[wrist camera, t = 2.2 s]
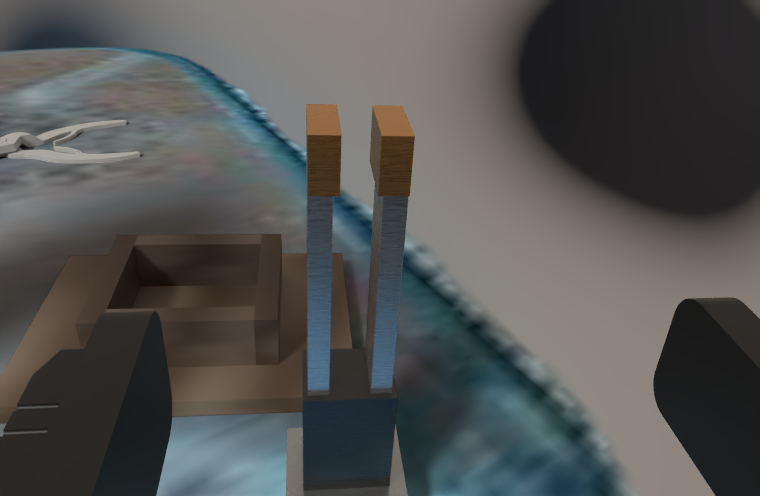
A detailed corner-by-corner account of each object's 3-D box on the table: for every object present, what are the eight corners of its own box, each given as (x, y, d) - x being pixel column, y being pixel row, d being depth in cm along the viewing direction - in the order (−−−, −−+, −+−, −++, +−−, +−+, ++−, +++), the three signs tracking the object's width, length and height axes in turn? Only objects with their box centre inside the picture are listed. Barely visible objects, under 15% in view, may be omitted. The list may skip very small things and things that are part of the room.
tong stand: (-13, 423, 32) (-35, 360, 30) (72, 268, 44) (61, 215, 42) (356, 409, 34) (359, 349, 32) (341, 265, 46) (342, 215, 44)
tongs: (286, 533, 27) (275, 142, 19) (288, 458, 31) (279, 97, 22) (403, 526, 28) (448, 144, 19) (392, 453, 31) (425, 101, 23)
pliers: (138, 145, 59) (-54, 167, 53) (140, 161, 60) (-49, 184, 54) (123, 110, 67) (-47, 126, 61) (125, 125, 67) (-42, 142, 61)
